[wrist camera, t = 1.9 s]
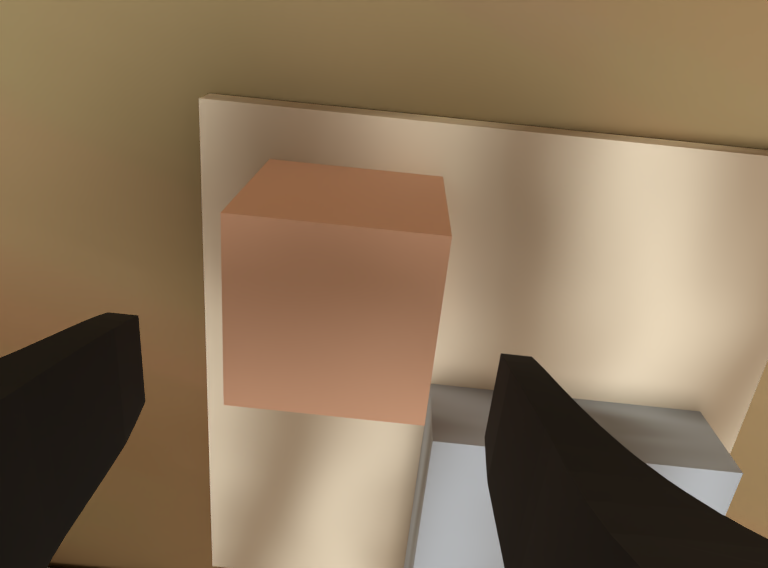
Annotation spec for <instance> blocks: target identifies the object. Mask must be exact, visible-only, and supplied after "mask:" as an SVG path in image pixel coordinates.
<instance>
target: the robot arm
mask: <svg viewBox="0 0 768 568" xmlns="http://www.w3.org/2000/svg"><path fill="white" fill-rule="evenodd" d="M144 403H145V393H144V380H143V368H142V355H141V343H140V331H139V318H138V316H137V315H127V314H118V313H105V314H102V315H99V316H96V317H93V318H91V319H88V320H86V321H83V322H81V323H79V324H76V325H74V326H72V327H70V328H67V329H65V330H63V331H61V332H58V333H56V334H54V335H52V336H50V337H47V338H45V339H43V340H41V341H38V342H36V343H34V344H32V345H29V346H27V347H25V348H23V349H20V350H18V351H16V352H13V353H11V354H9V355H6V356H4V357H1V358H0V568H47V567H48V565H49V563H50V561H51V559H52V557H53V556H54V554H55V552H56V551H57V549H58V547H59V546H60V544H61V542H62V541H63V539H64V537H65V536H66V534H67V533H68V531H69V530H70V528H71V527H72V525H73V524H74V522H75V521H76V519H77V518H78V516H79V515H80V513H81V512H82V510H83V509H84V507H85V505H86V504H87V502H88V501H89V499H90V498H91V496H92V495H93V493H94V492H95V490H96V489H97V487H98V486H99V484H100V483H101V481H102V480H103V478H104V477H105V475H106V474H107V472H108V471H109V469H110V468H111V466H112V464H113V463H114V461H115V460H116V458H117V457H118V455H119V454H120V452H121V450H122V449H123V447H124V446H125V444H126V442H127V440H128V438H129V436H130V434H131V432H132V430H133V428H134V426H135V424H136V421H137V419H138V417H139V415H140V412H141V410H142V408H143V406H144ZM484 438H485V456H486V471H487V483H488V488H489V493H490V499H491V504H492V509H493V514H494V519H495V524H496V529H497V534H498V538H499V543H500V548H501V553H502V558H503V563H504V568H768V539H767V538H765V537H763V536H761V535H759V534H757V533H755V532H753V531H751V530H749V529H747V528H745V527H744V526H742V525H740V524H738V523H737V522H735V521H733V520H731V519H729V518H728V517H726V516H724V515H722V514H721V513H719V512H717V511H716V510H714V509H712V508H711V507H709V506H708V505H706V504H704V503H703V502H701V501H700V500H698V499H696V498H695V497H693V496H692V495H690V494H688V493H687V492H685V491H684V490H682V489H681V488H679V487H678V486H676V485H675V484H673V483H672V482H670V481H669V480H668V479H666V478H665V477H663V476H662V475H661V474H659V473H658V472H657V471H655V470H654V469H653V468H651V467H650V466H649V465H647V464H646V463H645V462H643V461H642V460H640V459H639V458H638V457H637V456H635V455H634V454H633V453H632V452H630V451H629V450H628V449H627V448H625V447H624V446H623V445H622V444H621V443H620V442H618V441H617V440H616V439H615V438H614V437H613V436H612V435H610V434H609V433H608V432H607V431H606V430H605V429H604V428H602V427H601V426H600V425H599V424H598V423H597V422H596V421H595V420H594V419H593V418H592V417H591V416H590V415H589V414H588V413H587V412H586V411H585V410H583V409H582V408H581V407H580V406H579V405H578V404H577V403H576V402H575V401H574V400H573V399H572V397H571V396H570V395H569V394H568V393H567V392H566V391H565V390H564V389H563V388H562V387H561V386H560V385H559V384H558V383H557V382H556V381H555V380H554V379H553V378H552V377H551V376H550V374H549V373H548V372H547V371H546V370H545V369H544V368H543V367H542V366H541V365H540V364H539V363H538V362H537V361H536V360H535V359H534V358H533V357H532V356H522V355H512V354H503V353H501V355H500V360H499V365H498V371H497V376H496V381H495V386H494V391H493V396H492V401H491V406H490V411H489V416H488V422H487V427H486V432H485V437H484Z"/></svg>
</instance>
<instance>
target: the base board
mask: <svg viewBox="0 0 768 568" xmlns="http://www.w3.org/2000/svg"><path fill="white" fill-rule="evenodd" d="M199 124H200V158H201V192H202V226H203V260H204V294H205V328H206V362H207V396H208V430H209V463H210V497H211V531H212V565H213V566H218V567H227V568H504V563H503V558H502V553H501V548H500V543H499V538H498V534H497V529H496V524H495V519H494V514H493V509H492V504H491V499H490V493H489V488H488V483H487V471H486V456H485V438H484V437H485V432H486V427H487V422H488V416H489V411H490V406H491V401H492V396H493V391H494V386H495V381H496V376H497V371H498V365H499V360H500V355H501V353H503V354H512V355H522V356H532V357H533V358H534V359H535V360H536V361H537V362H538V363H539V364H540V365H541V366H542V367H543V368H544V369H545V370H546V371H547V372H548V373H549V374H550V376H551V377H552V378H553V379H554V380H555V381H556V382H557V383H558V384H559V385H560V386H561V387H562V388H563V389H564V390H565V391H566V392H567V393H568V394H569V395H570V396H571V397H572V399H573V400H574V401H575V402H576V403H577V404H578V405H579V406H580V407H581V408H582V409H583V410H585V411H586V412H587V413H588V414H589V415H590V416H591V417H592V418H593V419H594V420H595V421H596V422H597V423H598V424H599V425H600V426H601V427H602V428H604V429H605V430H606V431H607V432H608V433H609V434H610V435H612V436H613V437H614V438H615V439H616V440H617V441H618V442H620V443H621V444H622V445H623V446H624V447H625V448H627V449H628V450H629V451H630V452H632V453H633V454H634V455H635V456H637V457H638V458H639V459H640V460H642V461H643V462H645V463H646V464H647V465H649V466H650V467H651V468H653V469H654V470H655V471H657V472H658V473H659V474H661V475H662V476H663V477H665V478H666V479H668V480H669V481H670V482H672V483H673V484H675V485H676V486H678V487H679V488H681V489H682V490H684V491H685V492H687V493H688V494H690V495H692V496H693V497H695V498H696V499H698V500H700V501H701V502H703V503H704V504H706V505H708V506H709V507H711V508H712V509H714V510H716V511H717V512H719V513H721V514H722V515H724V516H725V515H726V512H727V510H728V508H729V505H730V503H731V501H732V498H733V496H734V493H735V491H736V489H737V486H738V484H739V481H740V479H741V477H742V474H743V473H742V471H741V470H740V468H739V467H738V466H737V464H736V463H735V461H734V460H733V458H732V457H731V455H730V453H731V450H732V448H733V445H734V443H735V440H736V438H737V435H738V433H739V430H740V428H741V425H742V423H743V420H744V418H745V415H746V413H747V411H748V408H749V406H750V403H751V401H752V398H753V396H754V393H755V391H756V388H757V386H758V383H759V381H760V378H761V376H762V373H763V371H764V368H765V366H766V363H767V361H768V150H763V149H753V148H743V147H733V146H723V145H713V144H703V143H694V142H684V141H674V140H664V139H654V138H644V137H635V136H625V135H615V134H605V133H595V132H585V131H576V130H566V129H556V128H546V127H536V126H526V125H516V124H507V123H497V122H487V121H477V120H467V119H457V118H448V117H438V116H428V115H418V114H408V113H398V112H389V111H379V110H369V109H359V108H349V107H339V106H330V105H320V104H310V103H300V102H290V101H280V100H270V99H261V98H251V97H241V96H231V95H221V94H211V93H209V94H207V95H205V96H202V97H200V98H199ZM269 159H275V160H285V161H294V162H304V163H314V164H324V165H334V166H343V167H353V168H363V169H373V170H383V171H392V172H402V173H412V174H422V175H432V176H441V177H443V180H444V187H445V194H446V200H447V207H448V213H449V220H450V226H451V233H452V240H451V247H450V254H449V261H448V268H447V275H446V282H445V288H444V295H443V302H442V309H441V316H440V323H439V330H438V337H437V343H436V350H435V357H434V364H433V371H432V378H431V385H430V392H429V399H428V405H427V412H426V419H425V426H421V425H412V424H402V423H392V422H383V421H373V420H363V419H354V418H344V417H334V416H325V415H315V414H305V413H296V412H286V411H277V410H267V409H257V408H248V407H238V406H228V405H224V396H223V337H222V278H221V218H220V213H221V212H222V210H223V209H224V208H225V207H226V206H227V205H228V204H229V203H230V202H231V201H232V199H233V198H234V197H235V196H236V195H237V194H238V193H239V192H240V191H241V190H242V189H243V187H244V186H245V185H246V184H247V183H248V182H249V181H250V180H251V179H252V178H253V177H254V175H255V174H256V173H257V172H258V171H259V170H260V169H261V168H262V167H263V166H264V164H265V163H266V162H267V161H268V160H269Z"/></svg>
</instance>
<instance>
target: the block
mask: <svg viewBox="0 0 768 568" xmlns="http://www.w3.org/2000/svg"><path fill="white" fill-rule="evenodd" d="M220 218H221V278H222V337H223V396H224V405H228V406H238V407H248V408H257V409H267V410H277V411H286V412H296V413H305V414H315V415H325V416H334V417H344V418H354V419H363V420H373V421H383V422H392V423H402V424H412V425H421V426H425V419H426V412H427V405H428V399H429V392H430V385H431V378H432V371H433V364H434V357H435V350H436V343H437V337H438V330H439V323H440V316H441V309H442V302H443V295H444V288H445V282H446V275H447V268H448V261H449V254H450V247H451V240H452V233H451V226H450V220H449V213H448V207H447V200H446V194H445V187H444V180H443V177H441V176H432V175H422V174H412V173H402V172H392V171H383V170H373V169H363V168H353V167H343V166H334V165H324V164H314V163H304V162H294V161H285V160H275V159H269V160H268V161H267V162H266V163H265V164H264V166H263V167H262V168H261V169H260V170H259V171H258V172H257V173H256V174H255V175H254V177H253V178H252V179H251V180H250V181H249V182H248V183H247V184H246V185H245V186H244V187H243V189H242V190H241V191H240V192H239V193H238V194H237V195H236V196H235V197H234V198H233V199H232V201H231V202H230V203H229V204H228V205H227V206H226V207H225V208H224V209H223V210H222V212H221V213H220Z"/></svg>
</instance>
